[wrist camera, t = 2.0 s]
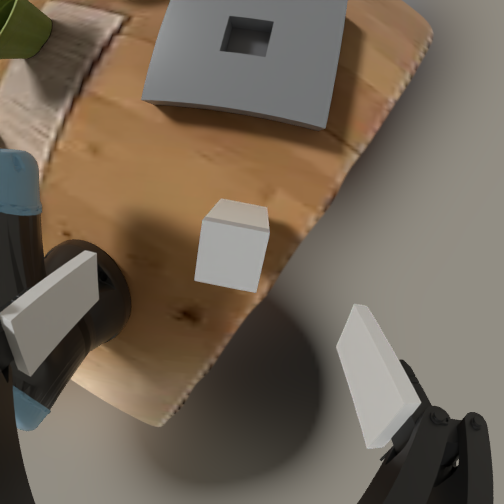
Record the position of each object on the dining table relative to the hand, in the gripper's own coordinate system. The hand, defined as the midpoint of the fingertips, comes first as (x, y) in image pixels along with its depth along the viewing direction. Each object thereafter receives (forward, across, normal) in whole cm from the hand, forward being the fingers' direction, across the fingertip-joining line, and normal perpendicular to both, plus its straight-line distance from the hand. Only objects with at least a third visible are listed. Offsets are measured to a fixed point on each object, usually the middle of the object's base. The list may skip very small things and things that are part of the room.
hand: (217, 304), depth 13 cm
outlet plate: (+18, +3, -19) cm, 26 cm away
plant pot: (+18, +36, -23) cm, 47 cm away
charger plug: (+18, 0, 0) cm, 18 cm away
